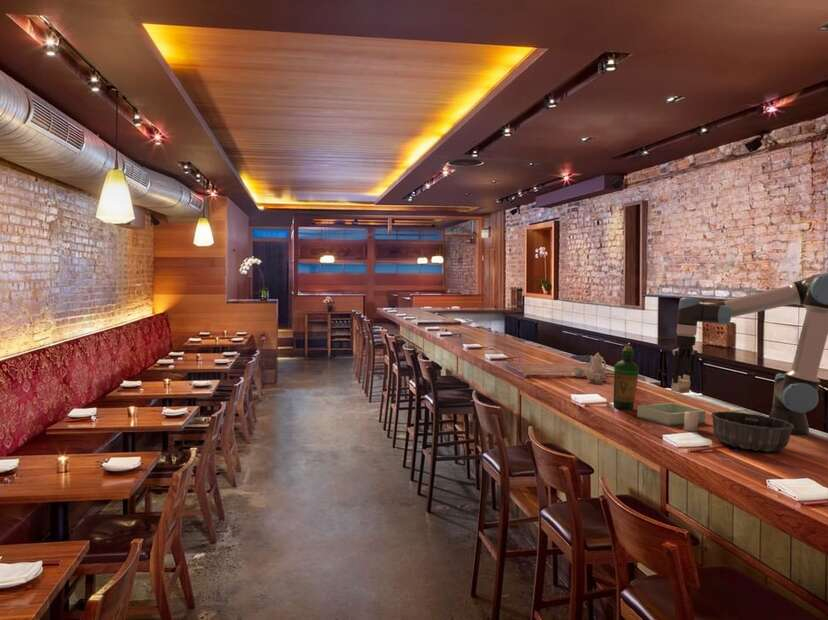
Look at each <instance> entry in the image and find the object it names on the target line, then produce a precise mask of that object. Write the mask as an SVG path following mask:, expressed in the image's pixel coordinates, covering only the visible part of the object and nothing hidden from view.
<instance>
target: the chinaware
mask: <svg viewBox="0 0 828 620" xmlns="http://www.w3.org/2000/svg"><path fill="white" fill-rule="evenodd" d="M603 365H604V366H603ZM606 367H607V363H606V361H605V359H604V357H602V355H600V352H597V353H596V354H594V356H593V355H590V360H589V364H588V369H587V368H586V367H585V368H584V367H583V368H582V367H580V366H579V367H574V366H573V367H572V368H571V369H572V373H573V375H574V376H575V378H582V377H583V376H584V375H585V376H586V378H587V380H588V381H589V383H590V384H596V383H598V382H604V380H605V379H606V377H607V375H606V373H605V370H606ZM586 371H587V372H586Z"/></svg>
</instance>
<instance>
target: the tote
mask: <svg viewBox="0 0 828 620" xmlns="http://www.w3.org/2000/svg"><path fill="white" fill-rule="evenodd" d="M685 411H692V412H697V413H699V418H698V424H705V422H706V421H705V420H706V410H703V409H699V408H695V407H690V406H687V405H683V404H679V403H675V402H669V403H667V402H666V403H665V402H664V403H654V404H641V405H640V404H639V405H637V414H636V415H637V416H636V417H637V418H640V419H643V420H646V421H648V422H649V421H650V422H653V423H655V424H659V425H663V426H666V427H675V426H684V417H685Z"/></svg>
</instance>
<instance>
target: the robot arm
mask: <svg viewBox="0 0 828 620" xmlns="http://www.w3.org/2000/svg"><path fill="white" fill-rule="evenodd" d="M790 305H797V306H801V305H803V307H804V308H805V310H806V313H805V316H804V320H803V324H802V327H801V330H800V335H799V339H798V342H797V347H796V350H795V355H794V358H793V361H792V365H791V368H790V370H789V371H787V372H785V373H777V374H775V378H774V381H773V382H774V386H773V387H774V389H773V398H772V399H773V400H772V408H771V411H770V413H769V415H768V417H772V418H775V419H779V420H784V421H787V422H788V423H791V424H793V426H794V428H793V429H792V431H791V434H792V435H808V434H810V433H809V432H810V426H809V423H808V419H807V415H806V414H807V412H811V411H812V410H813V409H815V408H816V407H817V405H818V403H819V398H820V397H819V392H818V390H819V389H820V388H819V387H820V383H821V380H820V378H819V377H818V373H819V372H818V371H819V368H820V364H821V361H822V357H823V354H824V350H825V346H826V343H827V339H828V273H827V272H824V273H817V274H814V275H811V276H809V277H806V278H803V279H800V280H797V281H792V282H791V283H790V284H789V285H788V286H787V285H786V286H783V287H782V286H781V287H778V288H774V289H769V290H764V291H762V292H757V293H753V294H748V295H744V296H740V297H735V298H732V299H727V300H723V301H718V302H714V303H708V304H707V303H701V302H700V299H699V298H696V297H695V298H693V297H692V298H691V297H681V298H680V299H679V303H678V313H677V322H676V323H677V324H676V325H677V326H676V331H675V332H676V335H675V345H676V348H675V349H671V350H670V352H671V359H670V366H669V367H670V368H669V373H670V374H671V375H672V376H673V377H672V379H673V391H672V392H675V391H677V392H676V393H678V392H679V390H680V380H681V379H685V380H689V381H691V376H694V374H695V372H696V365H697V364H696V363H697V362H696V361H697V355H698V352H699V351H698V350H695V349H694V347H693V346H695V345H696V341H697V340H696V339H697V337H696V336H697V329H698V323H710V324H719V325H729V324H730V323H731V319H732V318H737V317H739V316H745V315H750V314H753V313H754V314H755V313H758V312H762V311H763V312H764V311H767V310H772V309H773V310H774V309H776V308H781V307H786V306H790ZM683 366H684V367H683ZM682 368H684V374H683V376H681V375H680V374H681V370H682Z"/></svg>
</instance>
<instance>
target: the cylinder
mask: <svg viewBox="0 0 828 620" xmlns="http://www.w3.org/2000/svg"><path fill="white" fill-rule="evenodd" d="M698 418H699V413H697V412H692V411H685V417H684V425H683V430H684V431H687V432H690V433H691V432H692V433H697V432H698V429H699V427H698V426H699V423H698Z"/></svg>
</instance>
